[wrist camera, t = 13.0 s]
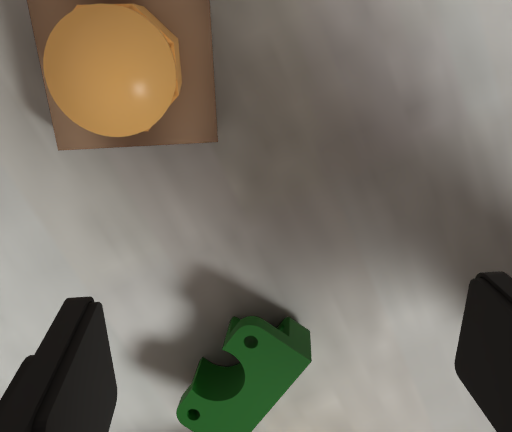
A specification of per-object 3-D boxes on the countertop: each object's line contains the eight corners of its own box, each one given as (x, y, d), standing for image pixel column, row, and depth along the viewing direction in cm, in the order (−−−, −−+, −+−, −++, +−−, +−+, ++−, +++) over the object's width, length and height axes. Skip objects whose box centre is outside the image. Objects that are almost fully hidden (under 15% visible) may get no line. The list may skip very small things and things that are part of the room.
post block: (206, -29, 28) (209, -45, 21) (216, 131, 32) (221, 161, 25) (38, -26, 27) (-17, -42, 20) (70, 138, 31) (34, 172, 24)
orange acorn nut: (175, 5, 26) (169, 1, 20) (184, 111, 28) (181, 134, 22) (66, 8, 25) (29, 5, 19) (85, 116, 27) (57, 140, 22)
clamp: (244, 286, 42) (259, 298, 33) (296, 320, 43) (323, 341, 34) (172, 397, 41) (167, 440, 32) (226, 431, 41) (236, 483, 32)
